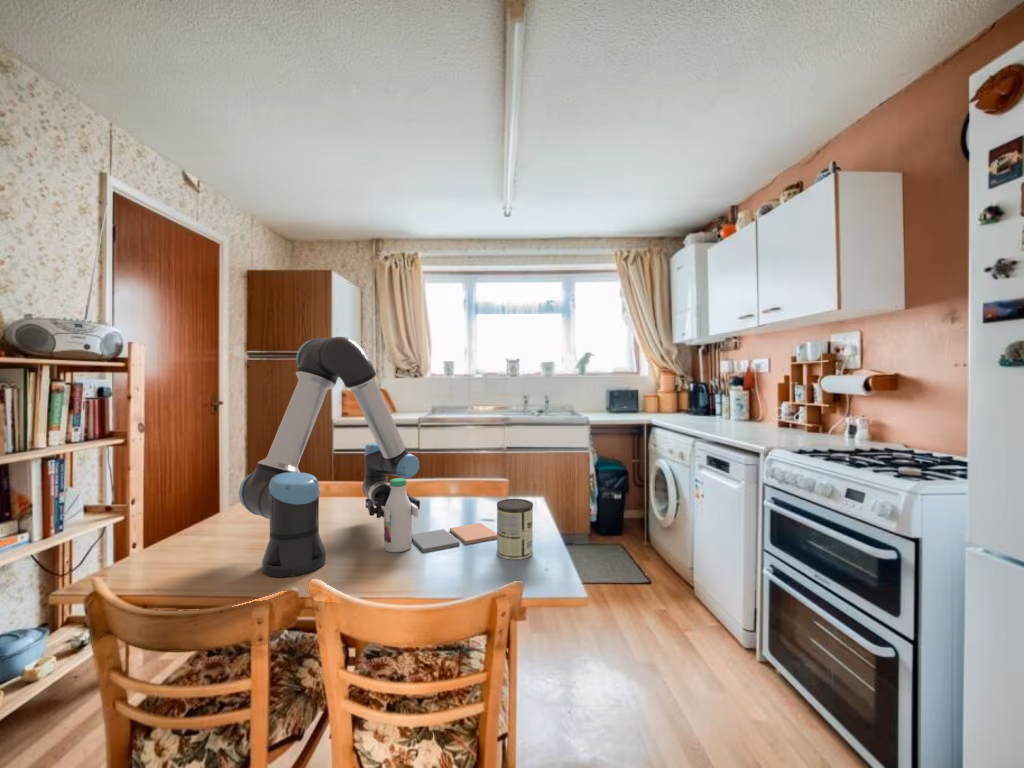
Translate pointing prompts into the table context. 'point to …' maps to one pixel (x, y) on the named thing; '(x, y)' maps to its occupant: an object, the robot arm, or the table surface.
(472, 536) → the terracotta tile
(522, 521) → the coffee can
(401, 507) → the milk bottle
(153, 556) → the table surface
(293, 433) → the robot arm
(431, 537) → the slate tile
